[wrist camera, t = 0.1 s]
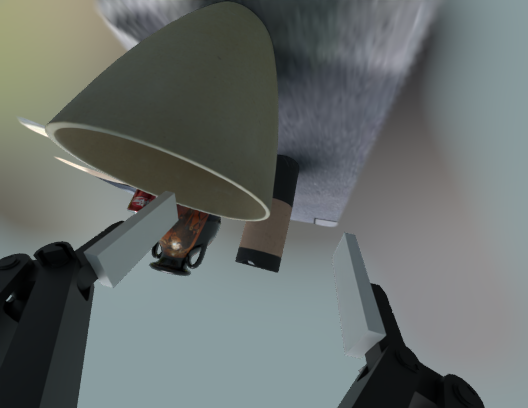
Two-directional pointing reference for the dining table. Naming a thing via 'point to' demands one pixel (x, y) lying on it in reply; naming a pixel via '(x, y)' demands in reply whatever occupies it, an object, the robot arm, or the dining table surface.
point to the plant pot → (186, 114)
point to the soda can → (140, 201)
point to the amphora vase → (185, 241)
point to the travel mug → (271, 222)
